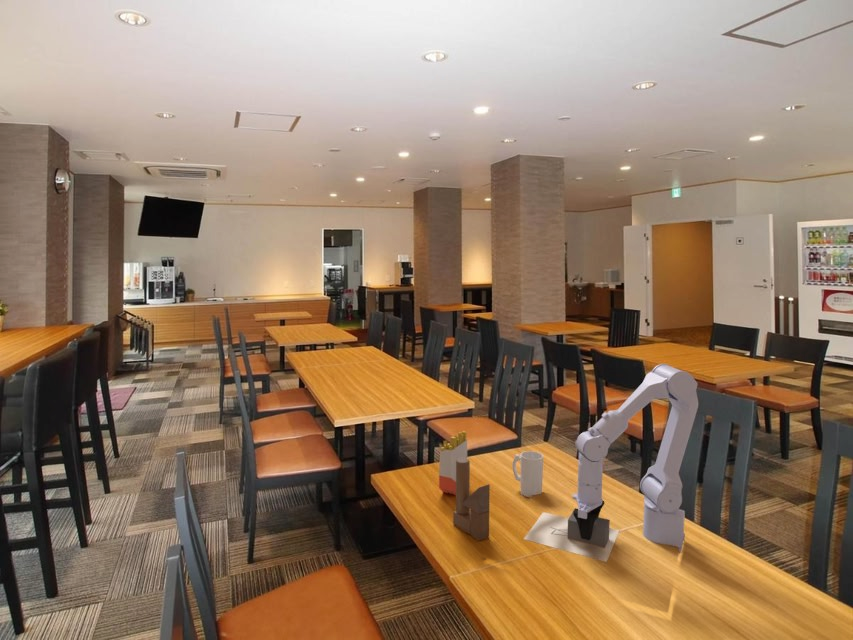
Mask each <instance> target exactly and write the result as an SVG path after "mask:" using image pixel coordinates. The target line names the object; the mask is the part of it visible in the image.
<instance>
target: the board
mask: <svg viewBox="0 0 853 640" xmlns="http://www.w3.org/2000/svg"><path fill="white" fill-rule="evenodd" d="M568 519H569V517H565V516H561V515H557V514H552V513H549V512H544V511H543V512H542V513H541V514H540V516H539V517H538V518H537V520H536V521H535V523H534V524H533V525H532V527H531V528H530V529H529V531H528V532H527V533H526V535H525V536H524V538H523V540H525V541H528V542H532V543H536V544H540V545H543V546H547V547H550V548H553V549H557V550H561V551H566V552H569V553H573V554H576V555H580V556H582V557H586V558H591V559H594V560H597V561H598V560H599V561H601V562H606V563H607V562H608V560H609V557H610V554H611V552H612V550H613V547H614V544H615V542H616V540H617V537H618V535H619V533H620V529H619V530H618V529H614V528H611V527H609V540H608V542H607V545H606V547H605V548H601V547H597V546H593V545H589V544H585V543H582V542H578V541H574V540H570V539H567V537H568Z"/></svg>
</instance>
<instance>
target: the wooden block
mask: <svg viewBox="0 0 853 640" xmlns="http://www.w3.org/2000/svg"><path fill="white" fill-rule="evenodd" d="M470 466H471V462H470V460H469V459H468V458H467V459H465V458H460V459H457V460H456V495H455V510H454V511H452V519H453V520H452V521H453V522H452V524H453V525H455V526H456V527H457V528H459V529H461V531H464V532H465V533H466V534H467V535H469V536H471V537H472V538H473V539H475V540H476V541H478V542H479V541H482V540H485V539H487V538H490V493H491V492H490V490H491V489H490V486H491V485H490V484H489V483H488V484H485V485H482V486H479V487H478V488H477V489H475V490H474V491H473V492H472V493H471V492H470V491H471V490H470V487H471V485H470V484H471V482H470V481H471V479H470V475H471V471H470V469H471V467H470ZM470 493H471V494H470Z"/></svg>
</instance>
